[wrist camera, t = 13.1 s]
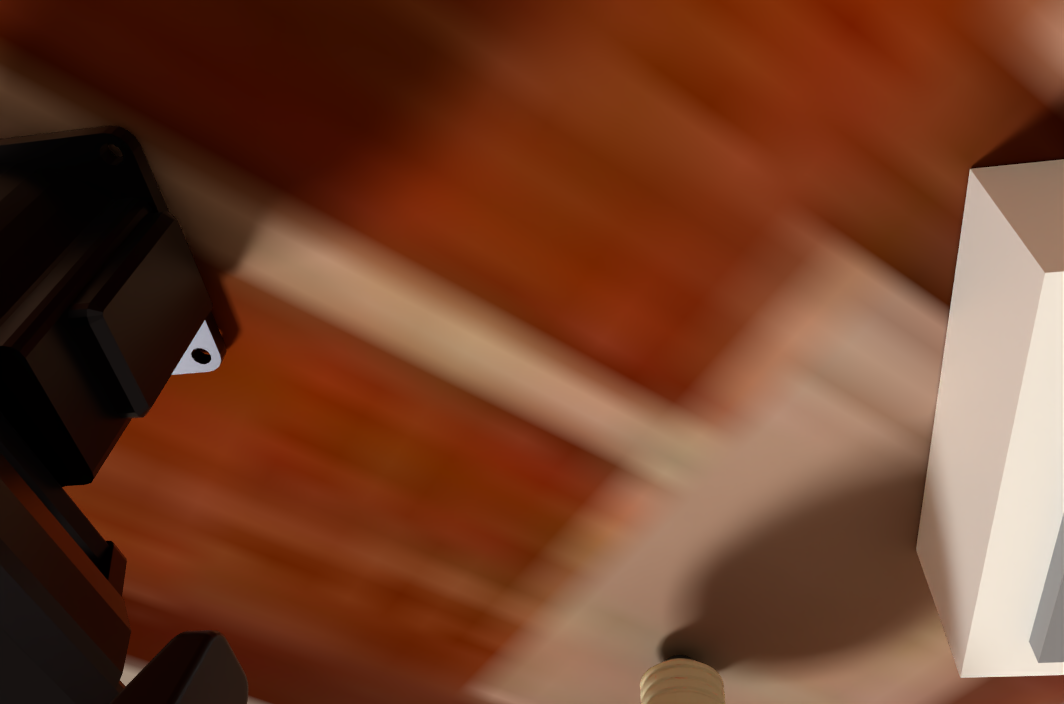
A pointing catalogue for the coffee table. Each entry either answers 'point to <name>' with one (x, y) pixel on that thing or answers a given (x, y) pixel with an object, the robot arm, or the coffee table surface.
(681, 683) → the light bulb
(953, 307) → the socket block
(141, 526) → the coffee table surface
